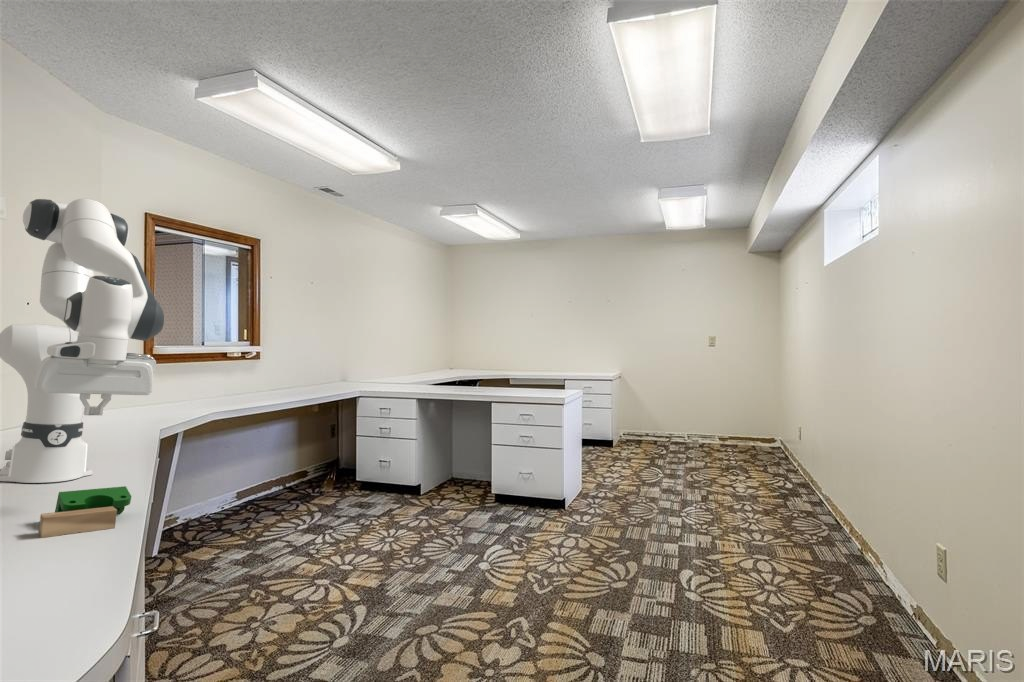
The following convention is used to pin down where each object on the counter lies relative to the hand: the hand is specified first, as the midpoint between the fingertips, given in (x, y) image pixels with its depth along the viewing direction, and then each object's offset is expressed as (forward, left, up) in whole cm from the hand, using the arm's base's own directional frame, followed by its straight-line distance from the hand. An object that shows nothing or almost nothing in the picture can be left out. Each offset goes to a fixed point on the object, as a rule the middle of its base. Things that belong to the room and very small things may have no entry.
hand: (92, 415), depth 114 cm
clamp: (+8, 0, -21) cm, 22 cm away
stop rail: (+14, -3, -20) cm, 25 cm away
